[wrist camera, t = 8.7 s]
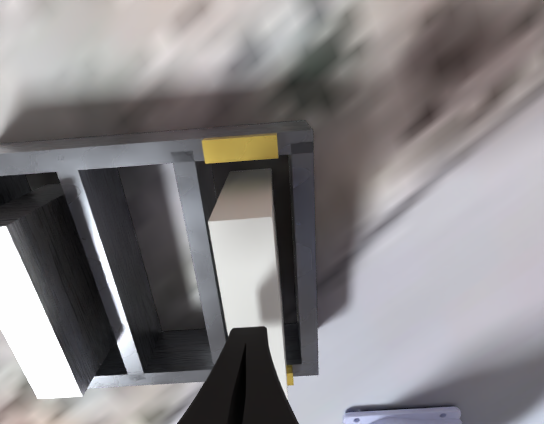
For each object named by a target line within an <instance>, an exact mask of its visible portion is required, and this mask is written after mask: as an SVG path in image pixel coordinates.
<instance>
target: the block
mask: <svg viewBox="0 0 544 424" xmlns="http://www.w3.org/2000/svg"><path fill="white" fill-rule="evenodd" d="M208 225H209V230H210V236H211V242H212V247H213V253H214V259H215V264H216V270H217V276H218V281H219V287H220V293H221V298H222V304H223V310H224V315H225V321H226V327H227V333H228V336H229V333H230V331H231V330H232V329H233V328H241V327H257V326H264V327H266V328H267V334H268V343H269V349H270V353H271V357H272V360H273V363H274V366H275V369H276V372H277V375H278V378H279V381H280V383H281V386H282V388H283V391H284V393H285V395H286V398H287V400H288V389H287V371H286V353H285V336H284V318H283V302H282V290H281V278H280V266H279V254H278V242H277V230H276V218H275V206H274V193H273V181H272V169H271V168H267V169H255V170H242V171H230V173H229V175H228V177H227V179H226V182H225V184H224V186H223V189H222V191H221V193H220V195H219V198H218V200H217V202H216V205H215V207H214V209H213V211H212V214H211V216H210V218H209V221H208Z"/></svg>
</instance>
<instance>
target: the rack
mask: <svg viewBox="0 0 544 424" xmlns="http://www.w3.org/2000/svg"><path fill="white" fill-rule="evenodd" d="M287 154H288V161H289V180H290V198H291V216H292V235H293V253H294V272H295V290H296V308H297V323H294V324H284V336H285V353H286V371H287V385H294V384H293V376H309V375H318V331H317V286H316V241H315V197H314V152H313V129H312V128H311V127H310V126H309V125H308V123H307V122H306V121H305V120H303V121H290V122H277V123H264V124H251V125H238V126H225V127H212V128H199V129H186V130H173V131H161V132H148V133H135V134H122V135H109V136H96V137H83V138H70V139H57V140H44V141H31V142H18V143H5V144H0V328H1V330H2V332H3V334H4V336H5V338H6V339H7V341H8V343H9V345H10V347H11V349H12V351H13V353H14V355H15V356H16V358H17V360H18V362H19V364H20V366H21V368H22V370H23V371H24V373H25V375H26V377H27V379H28V381H29V383H30V385H31V386H32V388H33V390H34V392H35V394H36V396H37V398H38V399H45V398H62V397H79V396H83V395H84V393H85V391H86V390H87V388H103V387H120V386H137V385H155V384H172V383H189V382H205V381H206V379H207V378H208V376H209V374H210V372H211V370H212V369H213V367H214V365H215V363H216V361H217V359H218V357H219V355H220V353H221V351H222V349H223V347H224V345H225V343H226V341H227V338H228V333H227V327H226V321H225V315H224V310H223V304H222V298H221V293H220V287H219V281H218V276H217V270H216V264H215V259H214V253H213V247H212V242H211V236H210V230H209V225H208V221H209V218H210V216H211V214H212V211H213V209H214V207H215V205H216V202H217V198H216V192H215V185H214V178H213V172H212V165H211V163H222V162H235V161H248V160H262V159H275V158H278V155H287ZM167 163H173V166H174V171H175V176H176V181H177V186H178V191H179V196H180V201H181V206H182V211H183V216H184V221H185V226H186V231H187V236H188V241H189V246H190V251H191V256H192V261H193V266H194V270H195V275H196V280H197V285H198V290H199V295H200V300H201V305H202V310H203V315H204V320H205V325H206V329H197V330H181V331H165V332H162V330H161V326H160V323H159V319H158V315H157V312H156V308H155V304H154V301H153V297H152V294H151V290H150V286H149V283H148V279H147V275H146V272H145V268H144V264H143V261H142V257H141V253H140V250H139V246H138V242H137V239H136V235H135V231H134V228H133V224H132V220H131V217H130V213H129V210H128V206H127V202H126V199H125V195H124V191H123V188H122V184H121V180H120V177H119V173H118V169H117V167H127V166H140V165H154V164H167ZM47 172H57V175H58V177H59V180H60V183H61V184H48V185H44V186H42V187H40V188H38V189H36V190H33V191H31V189H30V187H29V184H28V182H27V179H26V177H25V174H33V173H47Z"/></svg>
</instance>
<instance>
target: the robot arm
mask: <svg viewBox="0 0 544 424" xmlns="http://www.w3.org/2000/svg"><path fill="white" fill-rule="evenodd" d="M460 417H461V411H460V410H459V408H458V407H436V408H418V409H399V410H381V411H363V412H348V413H346V414H345V415H344V419H343V424H462V422H461V420H460ZM177 424H299V423H298V421H297V419H296V417H295V415H294V413H293V411H292V409H291V407H290V404H289V402H288V400H287V398H286V395H285V393H284V391H283V388H282V386H281V383H280V381H279V378H278V375H277V372H276V369H275V366H274V363H273V360H272V357H271V353H270V349H269V343H268V334H267V328H266V327H264V326H257V327H241V328H233V329H232V330H231V331H230V333H229V336H228V338H227V341H226V343H225V345H224V347H223V349H222V351H221V353H220V355H219V357H218V359H217V361H216V363H215V365H214V367H213V369H212V370H211V372H210V374H209V376H208V378H207V379H206V381H205V383H204V384H203V386H202V388H201V389H200V391H199V392H198V394H197V396H196V397H195V399H194V400H193V402H192V403H191V405H190V406H189V408H188V409H187V411H186V412H185V413H184V415H183V416H182V418H181V419H180V420H179V422H178V423H177Z"/></svg>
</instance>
